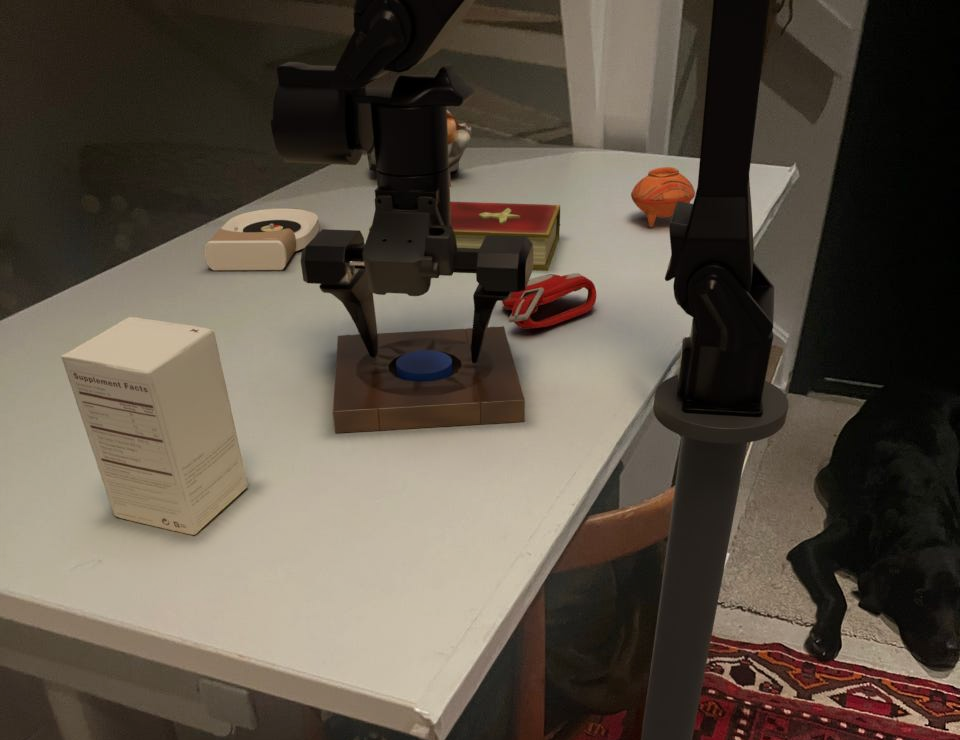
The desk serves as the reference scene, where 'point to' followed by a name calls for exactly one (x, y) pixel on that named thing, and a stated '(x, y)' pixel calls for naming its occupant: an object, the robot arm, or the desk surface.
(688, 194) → the orange footed clay pot
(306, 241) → the record player
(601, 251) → the desk surface
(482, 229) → the hardcover book
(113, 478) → the white packaging box
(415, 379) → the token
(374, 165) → the lucky cat figurine
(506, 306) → the red belt with buckle
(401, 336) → the token holder
